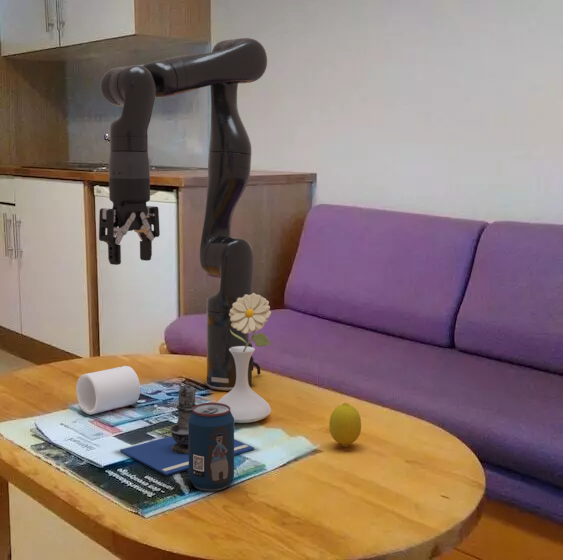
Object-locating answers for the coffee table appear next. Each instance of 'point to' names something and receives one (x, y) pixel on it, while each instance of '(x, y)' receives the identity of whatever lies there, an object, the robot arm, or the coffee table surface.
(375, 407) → the coffee table surface
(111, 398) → the mug
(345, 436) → the lemon
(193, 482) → the soda can
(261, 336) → the flower in vase
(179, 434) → the dark grey turned piece
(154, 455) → the blue notebook
